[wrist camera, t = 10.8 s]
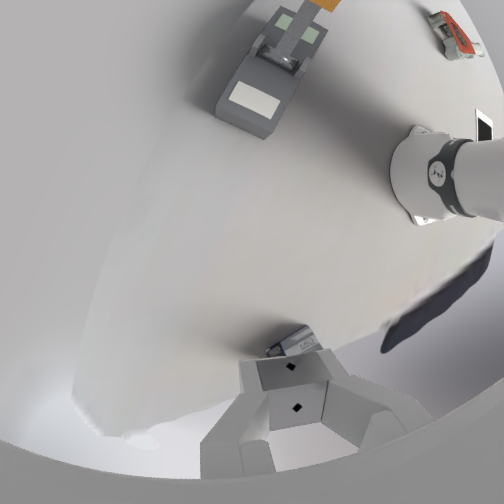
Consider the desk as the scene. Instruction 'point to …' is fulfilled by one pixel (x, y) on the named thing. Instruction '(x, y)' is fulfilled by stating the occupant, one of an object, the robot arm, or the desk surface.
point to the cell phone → (483, 127)
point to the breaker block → (267, 78)
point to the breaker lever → (295, 33)
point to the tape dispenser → (455, 38)
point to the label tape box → (296, 344)
